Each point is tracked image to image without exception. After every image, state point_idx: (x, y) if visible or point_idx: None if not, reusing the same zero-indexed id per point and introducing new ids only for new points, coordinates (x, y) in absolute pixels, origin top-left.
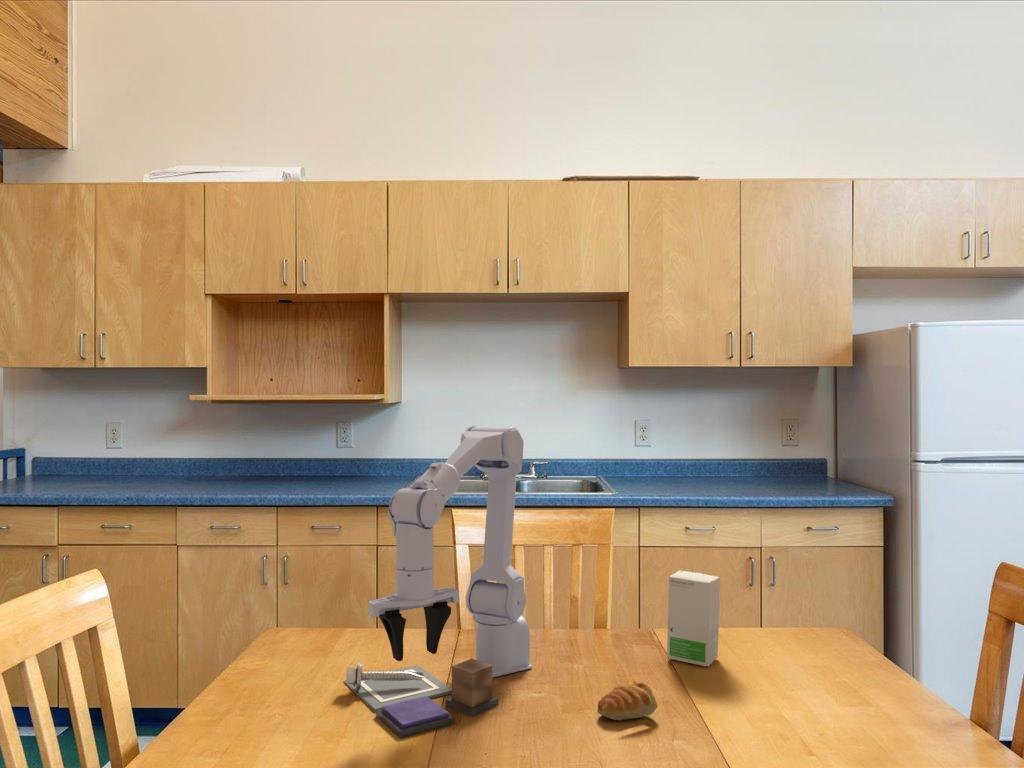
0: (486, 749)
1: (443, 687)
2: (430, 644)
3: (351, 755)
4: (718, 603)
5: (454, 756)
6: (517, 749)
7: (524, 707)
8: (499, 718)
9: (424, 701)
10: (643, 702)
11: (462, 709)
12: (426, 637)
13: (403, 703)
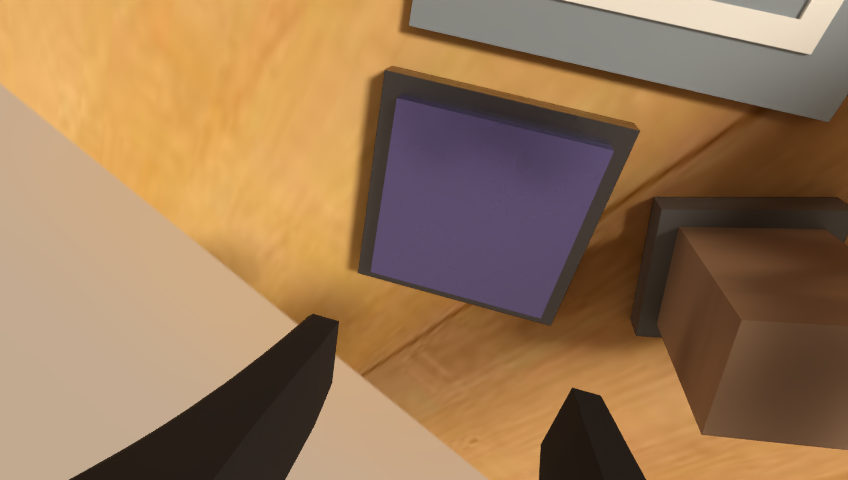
0: (489, 434)
1: (839, 53)
2: (557, 476)
3: (214, 236)
4: None
5: (412, 404)
6: (538, 475)
7: None
8: (672, 380)
9: (559, 190)
10: None
11: (641, 286)
12: (595, 466)
13: (482, 142)
